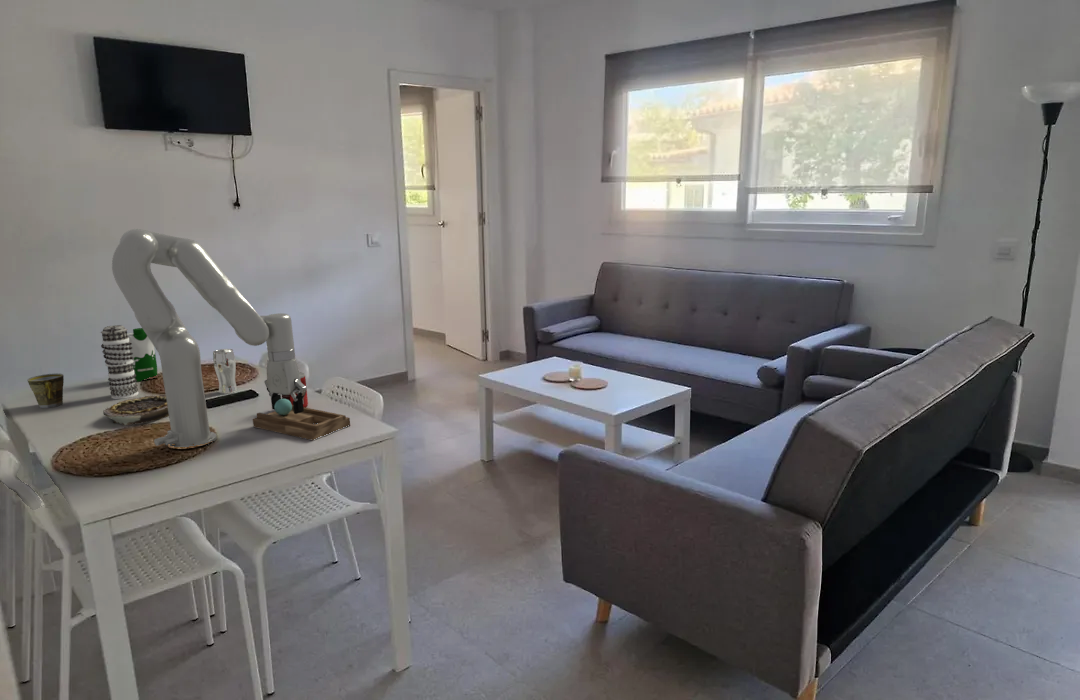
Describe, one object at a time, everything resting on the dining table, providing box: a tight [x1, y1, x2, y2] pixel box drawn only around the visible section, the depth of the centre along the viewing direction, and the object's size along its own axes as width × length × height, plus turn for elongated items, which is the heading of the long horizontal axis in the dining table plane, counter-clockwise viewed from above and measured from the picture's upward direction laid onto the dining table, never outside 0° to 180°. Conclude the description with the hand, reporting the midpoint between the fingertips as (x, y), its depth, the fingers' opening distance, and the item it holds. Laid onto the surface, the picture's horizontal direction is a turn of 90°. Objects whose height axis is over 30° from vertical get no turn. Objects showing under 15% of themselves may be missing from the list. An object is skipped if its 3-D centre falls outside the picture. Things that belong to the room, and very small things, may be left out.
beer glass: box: [212, 348, 238, 395], centre depth 240 cm, size 7×7×15 cm
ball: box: [274, 398, 292, 415], centre depth 205 cm, size 5×5×5 cm
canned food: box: [281, 371, 309, 408], centre depth 220 cm, size 8×8×11 cm
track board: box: [252, 405, 351, 441], centre depth 202 cm, size 14×26×4 cm, turn 59°
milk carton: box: [127, 327, 158, 383], centre depth 261 cm, size 9×9×20 cm
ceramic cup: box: [27, 372, 64, 409], centre depth 229 cm, size 13×10×10 cm
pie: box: [102, 394, 169, 426], centre depth 217 cm, size 28×27×5 cm
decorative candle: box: [99, 324, 139, 400], centre depth 238 cm, size 9×9×25 cm
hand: (288, 410), depth 205 cm, fingers open, 9 cm apart
